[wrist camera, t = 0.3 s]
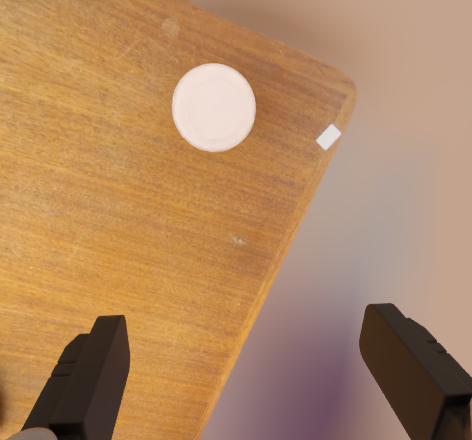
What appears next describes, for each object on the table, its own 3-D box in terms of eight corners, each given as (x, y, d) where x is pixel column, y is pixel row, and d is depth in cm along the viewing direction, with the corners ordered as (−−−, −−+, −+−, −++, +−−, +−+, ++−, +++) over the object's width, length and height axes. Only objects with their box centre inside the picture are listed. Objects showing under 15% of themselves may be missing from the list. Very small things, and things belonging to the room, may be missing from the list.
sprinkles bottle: (242, 114, 30) (271, 129, 18) (199, 137, 31) (197, 168, 18) (220, 65, 28) (233, 44, 16) (174, 90, 29) (153, 89, 16)
